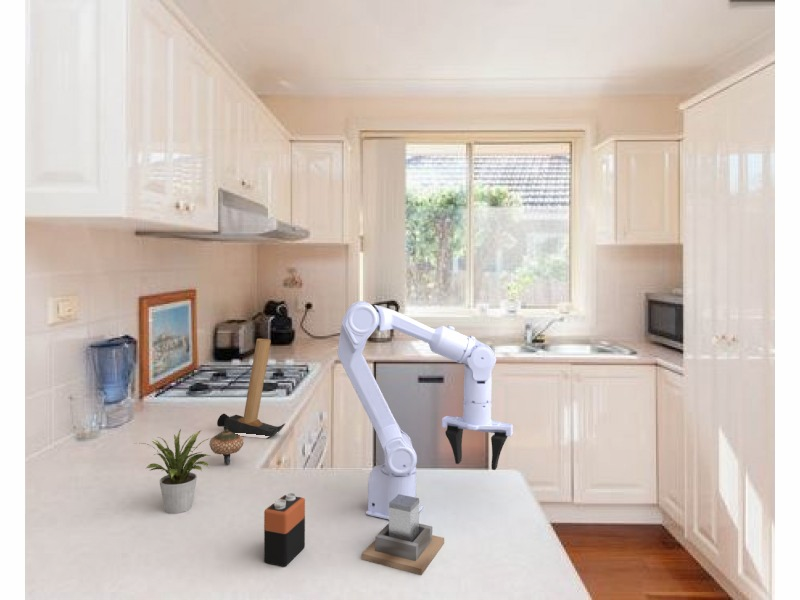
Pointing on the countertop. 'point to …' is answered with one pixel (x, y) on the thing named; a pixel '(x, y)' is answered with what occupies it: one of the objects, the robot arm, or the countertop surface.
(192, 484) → the house plant
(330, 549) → the countertop surface
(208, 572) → the countertop surface
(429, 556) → the socket block
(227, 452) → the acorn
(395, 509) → the peg
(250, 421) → the hammer
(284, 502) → the battery
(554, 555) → the countertop surface
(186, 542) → the countertop surface
